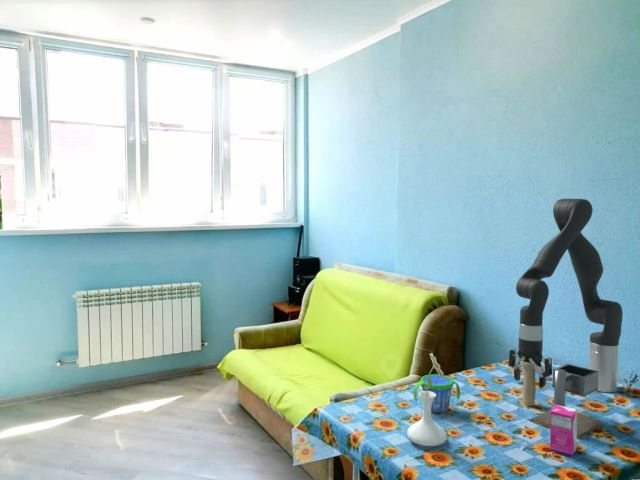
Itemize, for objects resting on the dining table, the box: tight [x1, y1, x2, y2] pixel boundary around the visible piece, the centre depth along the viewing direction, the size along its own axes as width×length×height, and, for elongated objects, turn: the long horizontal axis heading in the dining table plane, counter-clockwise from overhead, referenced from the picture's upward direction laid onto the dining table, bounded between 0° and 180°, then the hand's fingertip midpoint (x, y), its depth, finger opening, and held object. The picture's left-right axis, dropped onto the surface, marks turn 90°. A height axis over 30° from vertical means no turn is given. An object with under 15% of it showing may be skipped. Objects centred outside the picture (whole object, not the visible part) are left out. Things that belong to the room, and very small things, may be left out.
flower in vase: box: [406, 352, 448, 447], centre depth 137 cm, size 13×11×25 cm
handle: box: [520, 361, 539, 407], centre depth 162 cm, size 5×6×15 cm
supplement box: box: [549, 405, 578, 458], centre depth 131 cm, size 6×6×12 cm
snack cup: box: [412, 373, 461, 414], centre depth 159 cm, size 16×10×10 cm
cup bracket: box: [532, 363, 603, 440], centre depth 148 cm, size 17×14×18 cm
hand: (529, 383), depth 162 cm, fingers open, 8 cm apart
